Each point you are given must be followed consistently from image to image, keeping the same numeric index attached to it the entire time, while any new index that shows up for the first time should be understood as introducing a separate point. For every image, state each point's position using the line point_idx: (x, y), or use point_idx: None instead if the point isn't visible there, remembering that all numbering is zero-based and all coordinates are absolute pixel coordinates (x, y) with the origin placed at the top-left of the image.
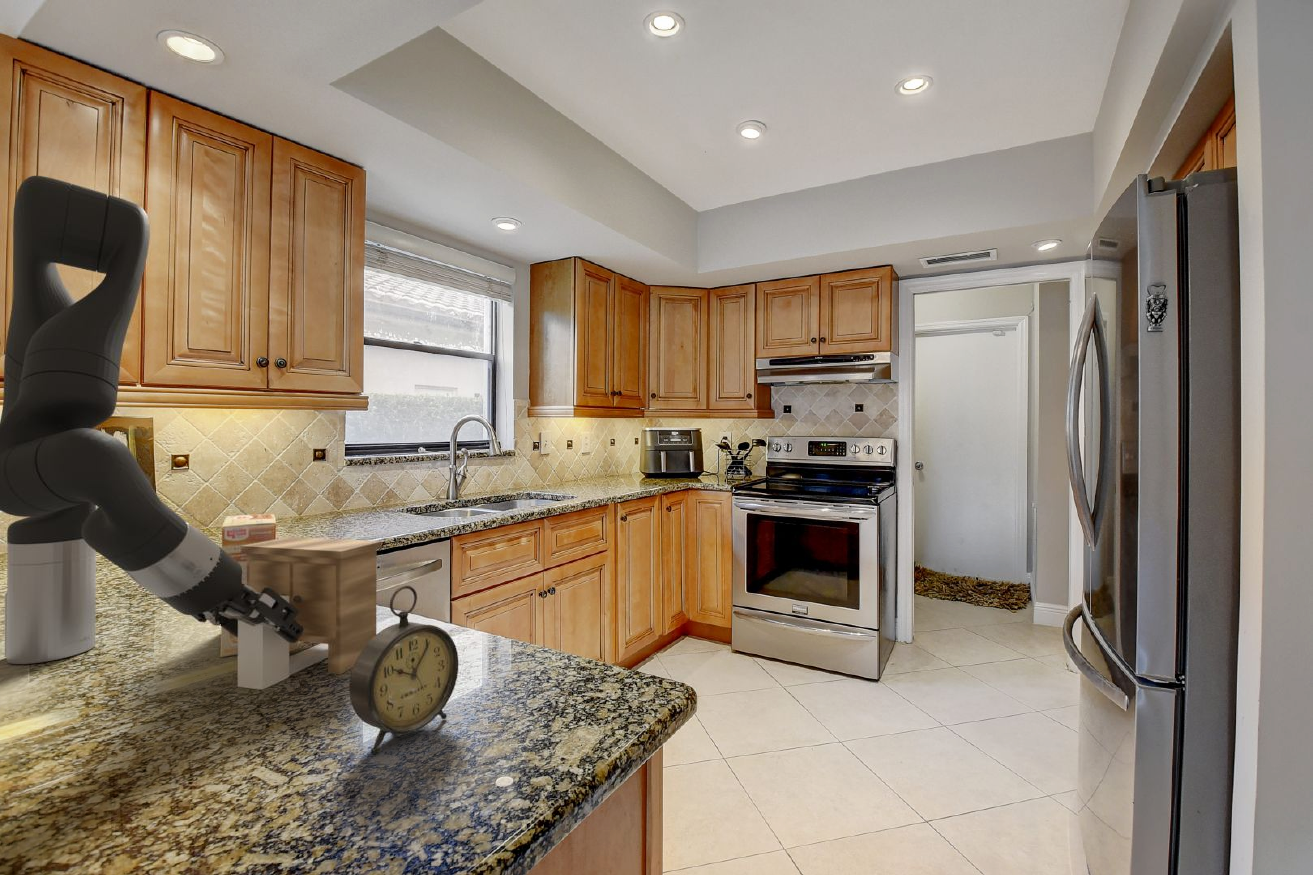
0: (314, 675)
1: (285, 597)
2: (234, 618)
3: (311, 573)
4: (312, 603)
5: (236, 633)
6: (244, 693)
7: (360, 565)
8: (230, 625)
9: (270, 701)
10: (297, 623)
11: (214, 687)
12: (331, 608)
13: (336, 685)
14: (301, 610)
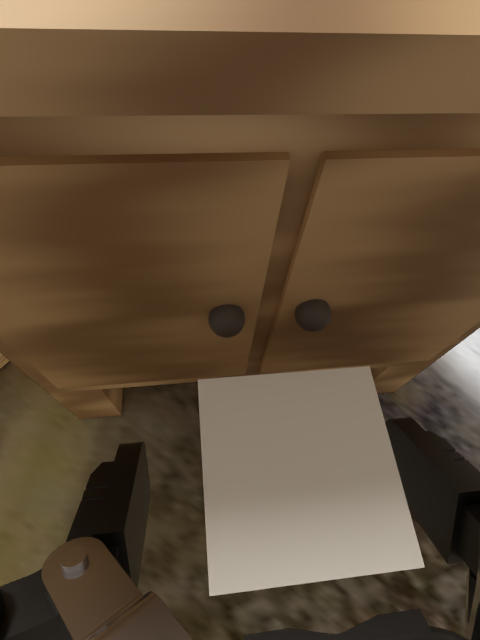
0: None
1: (373, 390)
2: (133, 538)
3: (459, 213)
4: (385, 311)
5: (145, 524)
6: (279, 588)
7: None
8: (136, 561)
9: (405, 601)
10: (432, 440)
11: (146, 591)
12: (472, 312)
13: (453, 447)
14: (317, 332)
